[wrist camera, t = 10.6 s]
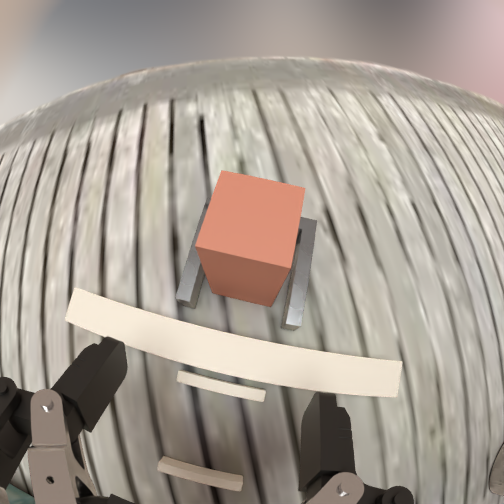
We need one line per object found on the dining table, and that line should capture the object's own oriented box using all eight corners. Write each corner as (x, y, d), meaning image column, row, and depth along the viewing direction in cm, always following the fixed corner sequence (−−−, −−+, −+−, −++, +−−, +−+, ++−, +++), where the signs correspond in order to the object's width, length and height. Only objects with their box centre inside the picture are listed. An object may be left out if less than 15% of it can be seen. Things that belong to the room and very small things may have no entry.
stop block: (282, 252, 23) (305, 188, 15) (270, 307, 21) (290, 268, 13) (227, 240, 23) (221, 170, 15) (212, 293, 22) (194, 246, 13)
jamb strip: (383, 363, 20) (402, 361, 17) (352, 491, 15) (366, 504, 13) (92, 297, 21) (74, 287, 18) (64, 420, 17) (44, 424, 14)
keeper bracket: (309, 234, 24) (316, 220, 21) (293, 330, 21) (300, 326, 18) (210, 213, 24) (207, 197, 22) (182, 305, 21) (175, 298, 19)
